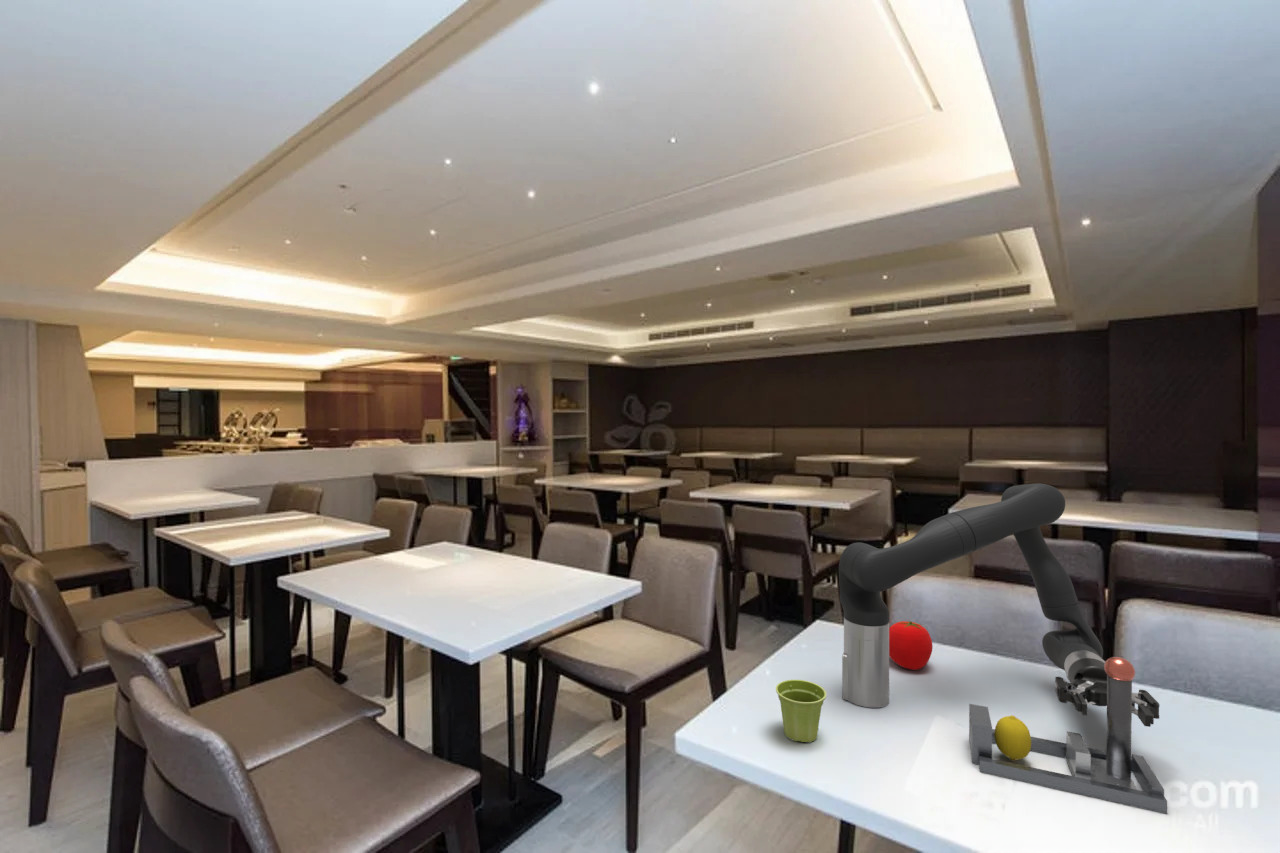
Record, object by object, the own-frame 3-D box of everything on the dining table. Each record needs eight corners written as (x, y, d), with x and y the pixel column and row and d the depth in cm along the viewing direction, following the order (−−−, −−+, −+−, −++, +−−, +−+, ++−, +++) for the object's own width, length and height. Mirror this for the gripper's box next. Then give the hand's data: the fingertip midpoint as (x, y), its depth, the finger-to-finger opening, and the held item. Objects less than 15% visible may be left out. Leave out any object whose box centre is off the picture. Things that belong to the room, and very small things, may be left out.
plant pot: (837, 740, 112) (837, 694, 111) (800, 754, 107) (800, 706, 107) (801, 718, 120) (801, 675, 120) (765, 730, 115) (765, 686, 115)
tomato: (892, 674, 140) (892, 628, 140) (880, 656, 150) (880, 613, 150) (939, 676, 138) (940, 630, 138) (924, 658, 149) (924, 615, 149)
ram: (1076, 784, 97) (1077, 659, 97) (1065, 758, 105) (1066, 642, 104) (1141, 798, 94) (1142, 669, 93) (1126, 771, 101) (1127, 651, 100)
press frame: (973, 770, 102) (973, 730, 102) (968, 734, 113) (968, 698, 113) (1167, 813, 90) (1167, 768, 90) (1140, 769, 102) (1140, 729, 102)
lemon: (1037, 771, 101) (1037, 725, 101) (1001, 767, 103) (1001, 722, 102) (1023, 753, 107) (1023, 709, 107) (989, 750, 108) (989, 706, 108)
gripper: (1047, 651, 117) (1065, 685, 103) (1137, 664, 111) (1170, 702, 96) (1046, 688, 117) (1064, 727, 103) (1137, 703, 111) (1170, 747, 97)
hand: (1116, 715), depth 100 cm, fingers open, 8 cm apart
